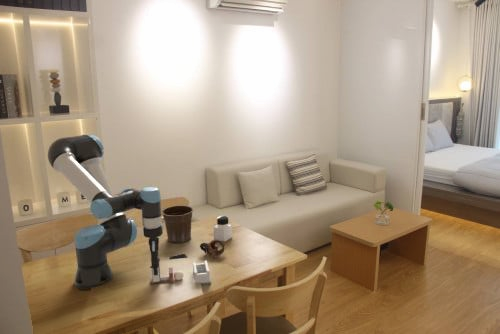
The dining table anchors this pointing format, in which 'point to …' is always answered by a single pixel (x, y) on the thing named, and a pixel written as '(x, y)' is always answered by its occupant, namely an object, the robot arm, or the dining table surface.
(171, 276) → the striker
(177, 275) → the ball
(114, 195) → the robot arm
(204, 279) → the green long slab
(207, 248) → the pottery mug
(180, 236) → the plant pot
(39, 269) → the dining table surface
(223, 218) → the medicine bottle
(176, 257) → the phone
